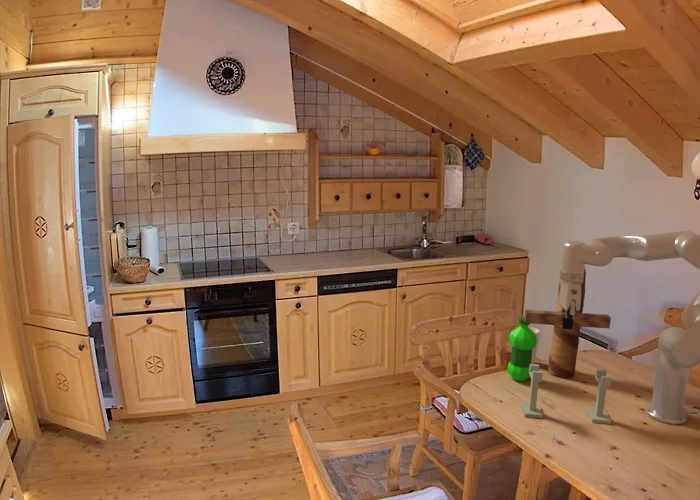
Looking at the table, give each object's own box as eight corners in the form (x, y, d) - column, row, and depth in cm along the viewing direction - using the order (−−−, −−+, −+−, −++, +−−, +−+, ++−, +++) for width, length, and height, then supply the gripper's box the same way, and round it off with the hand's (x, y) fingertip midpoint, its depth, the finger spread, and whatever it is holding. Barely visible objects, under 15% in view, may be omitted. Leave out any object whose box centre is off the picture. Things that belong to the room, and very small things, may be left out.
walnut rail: (606, 325, 183) (608, 314, 182) (609, 328, 180) (610, 317, 179) (524, 320, 186) (525, 309, 186) (525, 323, 184) (526, 312, 183)
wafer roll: (577, 371, 213) (590, 265, 204) (573, 381, 205) (585, 271, 195) (551, 365, 219) (562, 261, 209) (545, 374, 210) (556, 267, 200)
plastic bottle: (537, 384, 202) (543, 323, 196) (510, 384, 202) (515, 323, 196) (528, 372, 212) (533, 314, 206) (502, 372, 211) (507, 314, 206)
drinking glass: (537, 367, 216) (540, 333, 213) (520, 365, 218) (523, 332, 214) (535, 360, 223) (538, 327, 219) (518, 359, 224) (521, 326, 221)
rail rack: (604, 413, 181) (609, 369, 178) (610, 424, 175) (617, 378, 171) (521, 406, 185) (525, 363, 182) (524, 416, 179) (528, 372, 175)
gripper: (590, 284, 171) (583, 336, 175) (576, 271, 187) (570, 319, 191) (566, 282, 172) (560, 334, 176) (554, 270, 188) (549, 318, 192)
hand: (565, 326), depth 183 cm, fingers closed on walnut rail, 3 cm apart
